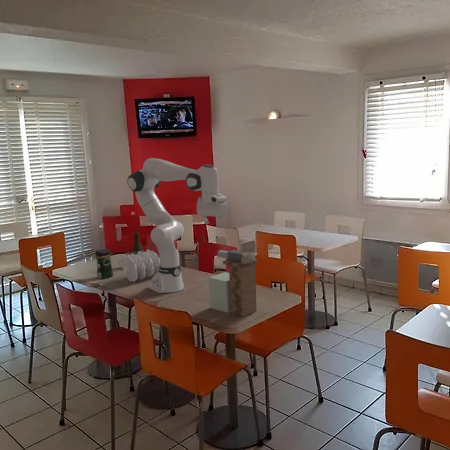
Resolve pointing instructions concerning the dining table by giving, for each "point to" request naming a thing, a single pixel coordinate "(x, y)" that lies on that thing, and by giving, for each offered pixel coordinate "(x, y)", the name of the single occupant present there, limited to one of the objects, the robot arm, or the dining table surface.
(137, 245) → the beer bottle
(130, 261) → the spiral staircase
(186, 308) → the dining table surface
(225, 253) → the plug
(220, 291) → the sage step
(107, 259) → the coffee jar
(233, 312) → the brown wooden tower
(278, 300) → the dining table surface
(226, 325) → the dining table surface
